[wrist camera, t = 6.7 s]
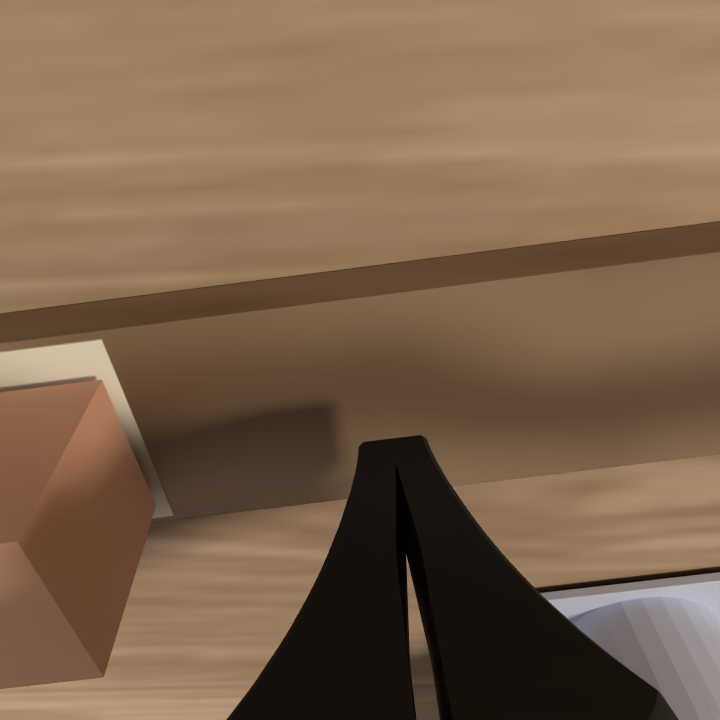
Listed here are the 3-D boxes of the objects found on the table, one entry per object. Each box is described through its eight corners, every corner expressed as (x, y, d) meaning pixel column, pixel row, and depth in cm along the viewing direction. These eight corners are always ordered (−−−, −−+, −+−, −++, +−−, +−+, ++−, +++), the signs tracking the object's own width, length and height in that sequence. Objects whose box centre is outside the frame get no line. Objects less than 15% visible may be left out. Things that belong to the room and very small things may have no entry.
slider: (155, 505, 16) (103, 677, 12) (3, 523, 16) (-96, 700, 12) (101, 379, 14) (17, 541, 10) (-75, 401, 14) (-228, 571, 10)
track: (701, 417, 18) (731, 454, 16) (-49, 508, 18) (-77, 550, 17) (751, 217, 14) (794, 243, 13) (-169, 335, 15) (-216, 371, 13)
